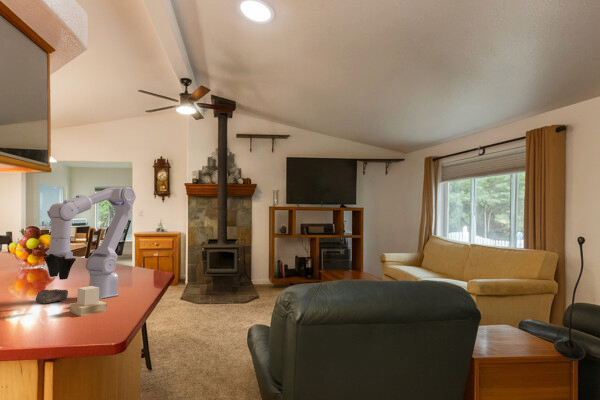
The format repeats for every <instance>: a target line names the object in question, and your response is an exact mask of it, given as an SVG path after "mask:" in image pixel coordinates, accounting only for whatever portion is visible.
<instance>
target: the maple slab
mask: <svg viewBox="0 0 600 400" xmlns="http://www.w3.org/2000/svg"><path fill="white" fill-rule="evenodd" d="M102 312H108V303H107V302H105V301H102V300H101V301H99V303H95V304H90V305H85V306H84V305H80V304H77V302H73V303H70V304H69V313H72V314H74V315H77V316H79V317H84V316H89V315H94V314H99V313H102Z"/></svg>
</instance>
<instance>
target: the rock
mask: <svg viewBox="0 0 600 400" xmlns="http://www.w3.org/2000/svg"><path fill="white" fill-rule="evenodd" d="M68 295H69V291H68V289H58V288H57V289H42V290H40V291H39V292H38V293H37V294H36V297H35V302H36V303H38V304H44V305H45V304H52V303H55V302H62V301H64V300H66V299H67V298H68Z"/></svg>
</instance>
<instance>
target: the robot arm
mask: <svg viewBox="0 0 600 400" xmlns="http://www.w3.org/2000/svg"><path fill="white" fill-rule="evenodd" d="M136 198H137V196H136V192H135V190H134V189H133V187H131V186H125V187H124V186H123V187H122V186H121V187H118V186H117V187H114V186H111V187H107V188H104V189H103V190H101V191H97V192H96V193H93V194H91V195H88V196H87V195H84V194H83V195H82V194H77V195H75V197H74V198H71V199H64V200H63V202H62V203H61V202H57V203H53V204H52V205H51V206H49V209H48V210H47V212H46V213H47V216H48V217H49V219H50V220H49V221H50V240H49V249H47V251H45V254H46V255H47V256H44V257H43V260H44V262H45V264H46V267H47V270H48V275H49V277H50V278H54V277H58V279H59V280H60V281H63V280H68V279H69V275H70V272H71V269H72V266H73V265H74V263H75V262H76V258H75V257H74V256H73V254H74V252H73V251H72V250H71V238H72V237H71V235H72V220H73V219H74V218H75V217H76V216H77V215H79V214H81V213H84V212H87V211H88V210H89V211H90V210H91V209H92V207H93V205H95V204H98V203H101V202H104V201H108V203H110V206H112V208H113V209H114V210H115V213H114V215H113V218H112V220H111V221H110V222H111V223H110V225H109V227H108V229H107V231H106V232H105V234H104V237H103V240H102V242H101V244H100V246H99V247H98V248H96V249H95V250H93V251H92V253H91V255H90V256H89V257H87V259H86V261H85V269H86V270H87V271H88V274H89V280H88V281H89V283H88V284H89V285H88V286H95V287H99V290H101V299H107V298H112V297H117V296H119V276H118V274H117V272H114V271H115V270H116V267H117V260H118V257H119V255H118V254H117V253H116V249H117V247H118V245H119V242H120V240H121V238H122V235H123V233H124V231H125V229H126V226H127V224H128V222H129V220H130V218H131V215H132V212H133V207H134V206H133V205H134V203H135V200H136Z"/></svg>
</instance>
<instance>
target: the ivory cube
mask: <svg viewBox="0 0 600 400" xmlns="http://www.w3.org/2000/svg"><path fill="white" fill-rule="evenodd" d="M76 296H77V299H76V300H77V301H76V303H77V304H80V305H84V306H85V305H90V304H95V303H99V287H95V286H89V285H88V286H83V287H77V295H76Z"/></svg>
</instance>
